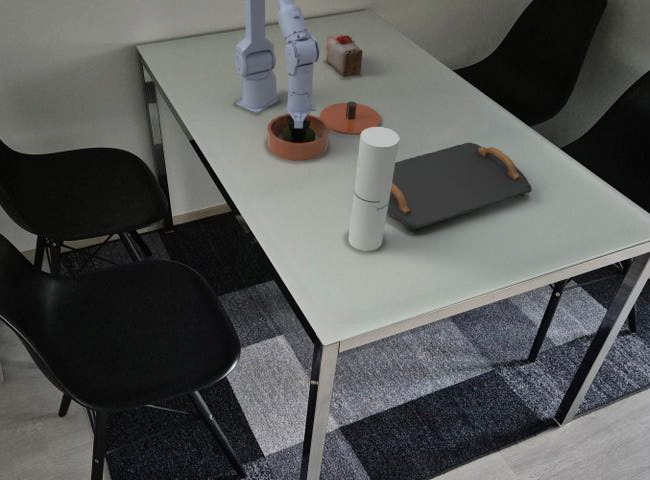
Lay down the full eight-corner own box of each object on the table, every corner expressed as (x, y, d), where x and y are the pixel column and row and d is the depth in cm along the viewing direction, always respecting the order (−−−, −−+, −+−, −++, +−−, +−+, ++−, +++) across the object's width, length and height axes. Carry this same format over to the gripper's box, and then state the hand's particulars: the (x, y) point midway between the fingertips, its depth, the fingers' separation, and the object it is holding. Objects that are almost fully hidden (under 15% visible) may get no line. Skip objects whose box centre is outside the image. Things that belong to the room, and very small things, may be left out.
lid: (342, 100, 180) (344, 83, 177) (391, 119, 173) (394, 102, 170) (307, 122, 171) (308, 104, 167) (357, 143, 164) (360, 125, 160)
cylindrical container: (346, 229, 138) (357, 127, 121) (378, 228, 138) (394, 126, 121) (351, 251, 132) (364, 147, 115) (385, 250, 133) (402, 146, 116)
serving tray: (477, 148, 163) (482, 126, 159) (541, 197, 148) (549, 174, 144) (347, 184, 150) (349, 162, 146) (403, 242, 135) (407, 219, 131)
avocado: (282, 148, 160) (282, 130, 157) (282, 138, 164) (283, 120, 160) (315, 149, 160) (316, 132, 157) (315, 139, 164) (316, 122, 160)
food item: (321, 60, 199) (323, 29, 192) (344, 56, 201) (347, 25, 194) (341, 79, 190) (344, 47, 183) (365, 75, 192) (368, 43, 185)
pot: (292, 123, 170) (293, 107, 167) (339, 143, 163) (341, 126, 160) (255, 146, 161) (255, 129, 158) (302, 169, 154) (303, 151, 151)
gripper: (317, 104, 146) (313, 155, 156) (316, 75, 157) (313, 125, 166) (286, 103, 146) (284, 154, 156) (288, 74, 157) (286, 123, 166)
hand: (297, 139), depth 161 cm, fingers closed on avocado, 5 cm apart
